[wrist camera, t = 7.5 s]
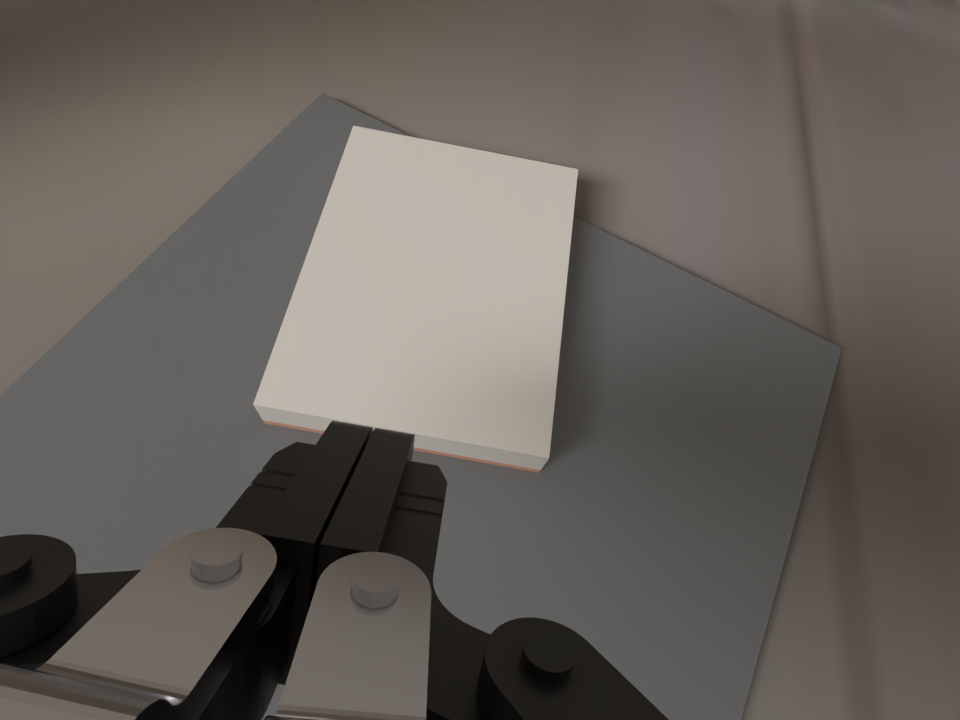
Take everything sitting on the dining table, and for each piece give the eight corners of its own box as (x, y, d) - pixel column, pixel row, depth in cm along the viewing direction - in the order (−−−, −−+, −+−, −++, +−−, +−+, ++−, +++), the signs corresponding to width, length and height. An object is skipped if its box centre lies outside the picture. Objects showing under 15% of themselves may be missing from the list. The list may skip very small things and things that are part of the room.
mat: (-210, 611, 16) (-228, 610, 15) (323, 102, 26) (322, 93, 26) (597, 1202, 13) (604, 1224, 12) (833, 353, 23) (842, 348, 23)
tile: (549, 458, 18) (578, 169, 23) (252, 404, 17) (353, 125, 23) (538, 472, 19) (568, 197, 25) (264, 423, 19) (356, 156, 24)
